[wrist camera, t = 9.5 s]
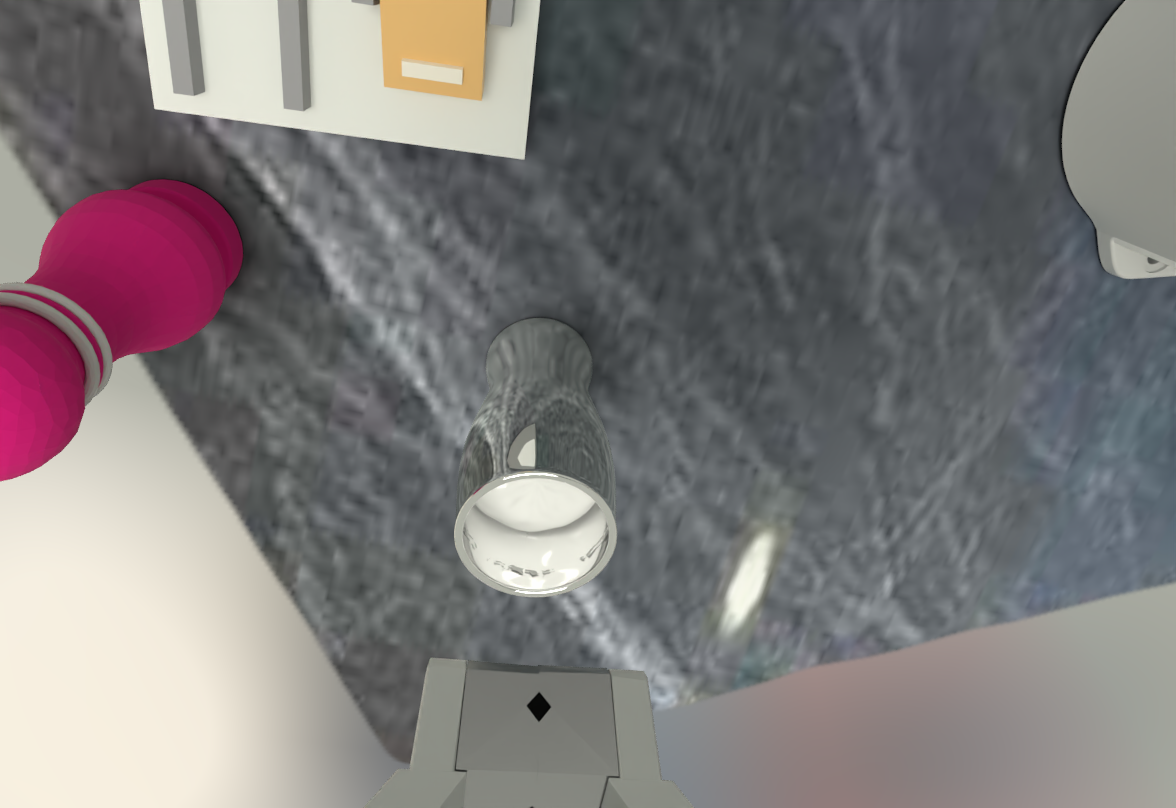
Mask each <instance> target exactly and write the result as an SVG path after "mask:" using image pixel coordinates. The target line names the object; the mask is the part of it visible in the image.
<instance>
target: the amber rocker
mask: <svg viewBox="0 0 1176 808" xmlns="http://www.w3.org/2000/svg"><path fill="white" fill-rule="evenodd" d="M488 3H489V0H380V16H381V36H382V57H383V77H384V87H389V88H396V89H403V90H410V91H417V92H423V93H430V94H437V95H444V96H451V97H458V98H465V99H472V100H478V101H482V96H483V91H484V82H485V62H486V42H487V23H488Z"/></svg>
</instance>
